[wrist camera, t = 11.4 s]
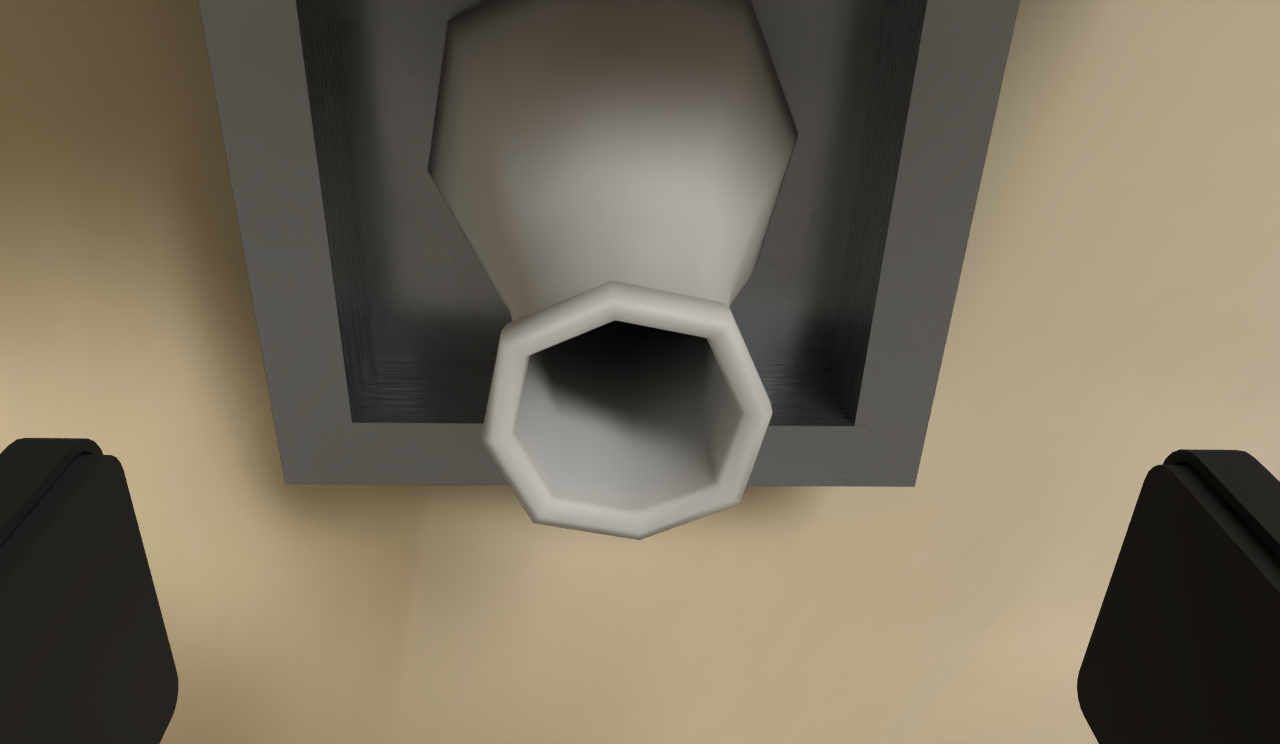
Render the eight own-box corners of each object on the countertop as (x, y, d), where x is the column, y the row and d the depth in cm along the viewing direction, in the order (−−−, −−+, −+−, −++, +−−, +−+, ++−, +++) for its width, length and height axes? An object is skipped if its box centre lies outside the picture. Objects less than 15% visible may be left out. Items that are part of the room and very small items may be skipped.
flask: (796, 295, 21) (937, 638, 13) (462, 327, 21) (371, 691, 13) (794, -70, 18) (989, 56, 9) (390, -30, 18) (192, 135, 9)
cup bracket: (1055, 400, 24) (1407, 858, 14) (128, 392, 23) (-259, 885, 12) (1282, -382, 16) (2480, -696, 6) (-94, -453, 15) (-1572, -991, 5)
